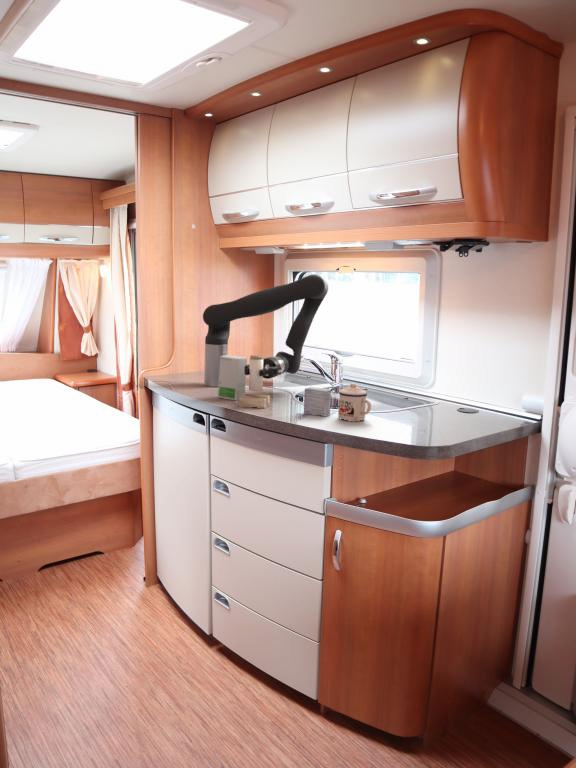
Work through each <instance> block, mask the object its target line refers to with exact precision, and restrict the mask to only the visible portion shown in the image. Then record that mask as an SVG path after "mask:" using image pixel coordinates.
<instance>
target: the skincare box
mask: <svg viewBox="0 0 576 768" xmlns="http://www.w3.org/2000/svg"><path fill="white" fill-rule="evenodd" d="M246 365H248V357H244V356H239V355H233V354H227V355H226V356H220V371H219V387H217V388H218V390H217V398H219V399H226V400H231V401H235V400H236V401H239V398H240V397H241V396H243V395H245V394H246V384H247V381H246V380H247V375H245V374H244V367H245V366H246Z"/></svg>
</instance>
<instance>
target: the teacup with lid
mask: <svg viewBox="0 0 576 768" xmlns="http://www.w3.org/2000/svg"><path fill="white" fill-rule="evenodd" d="M349 385H350V386H347V387H344V388H342V389H339V391H338V396H339V398H338V399H339V400H338V415H337V417H339V418H341V419H345V420H350V421H349V422H351V421H358V422H361V421H360V420H363V421H365V419H366V415H368V414H370V411H371V410H372V404H371V401H370V400H369V399H367V396H368V393H367V391H366V390H364V389H361V388H360V387H359V386H357V383H353V382H351V383H350V384H349ZM366 404H367V408H366ZM339 418H338V419H339ZM341 419H340V420H341Z"/></svg>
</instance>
